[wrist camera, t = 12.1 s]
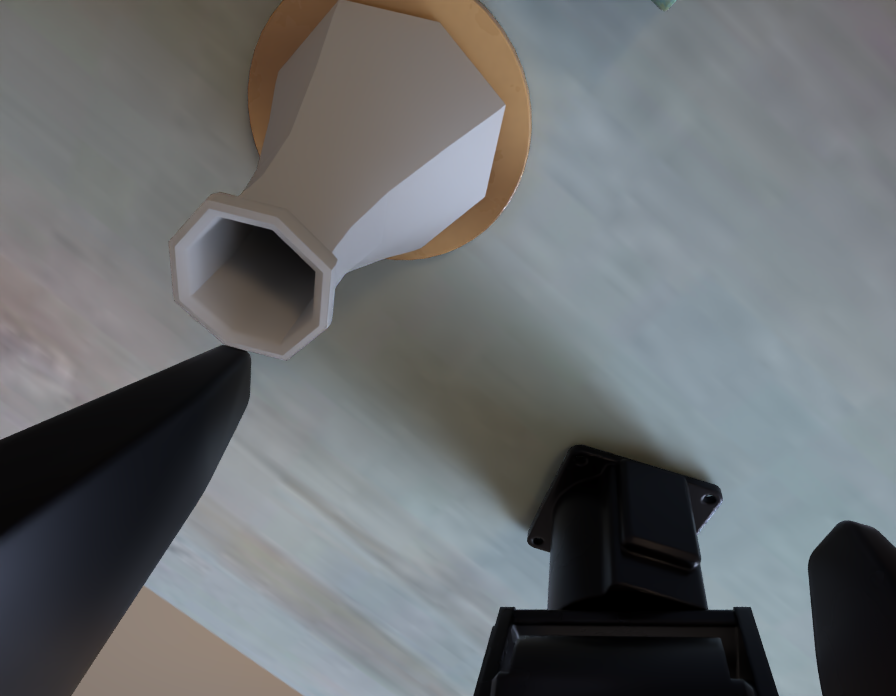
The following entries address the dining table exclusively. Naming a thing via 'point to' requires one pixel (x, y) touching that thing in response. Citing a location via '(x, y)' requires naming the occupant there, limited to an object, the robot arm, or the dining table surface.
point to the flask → (339, 177)
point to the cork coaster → (479, 41)
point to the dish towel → (664, 4)
